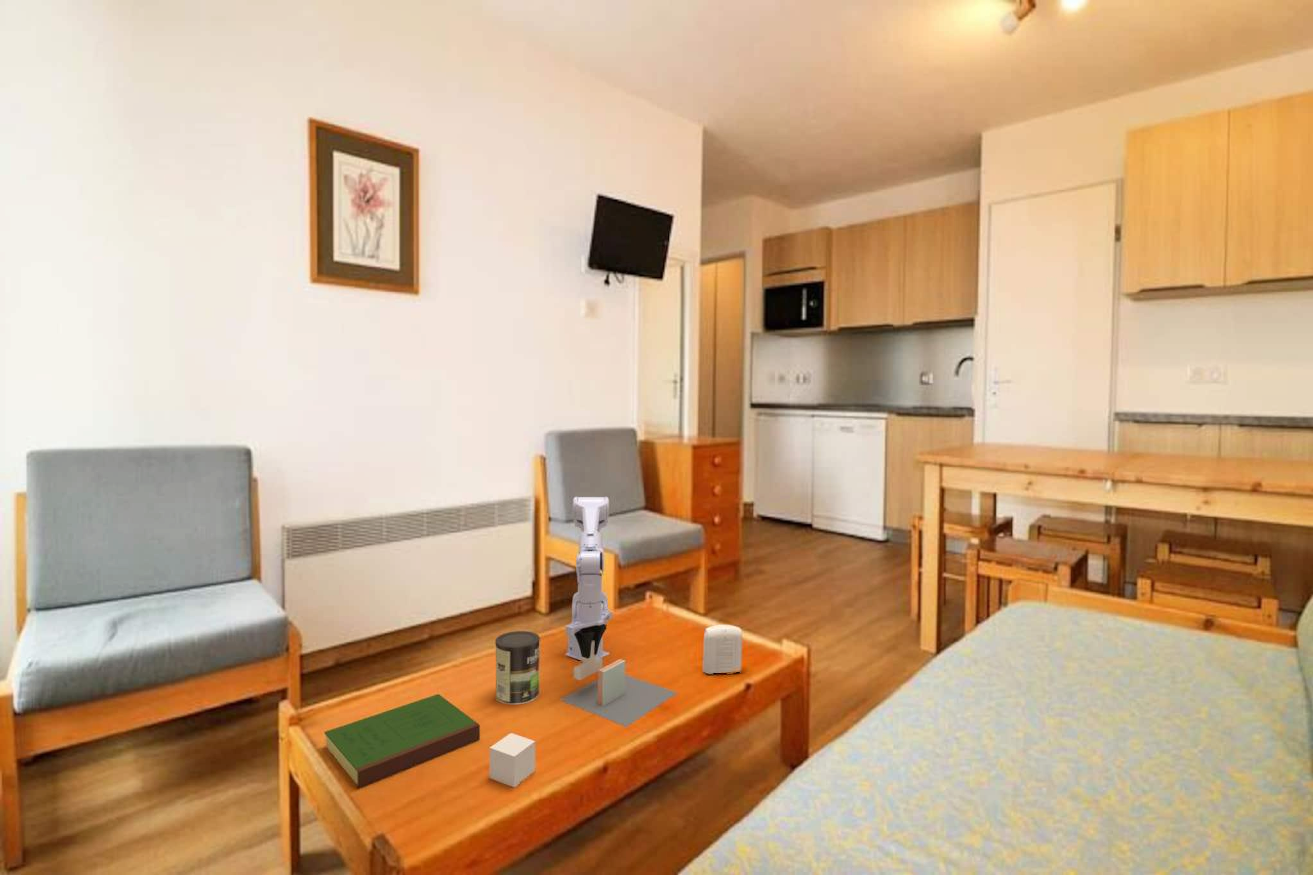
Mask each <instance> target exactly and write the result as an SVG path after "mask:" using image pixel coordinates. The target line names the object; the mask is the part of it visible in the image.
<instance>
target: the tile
mask: <svg viewBox="0 0 1313 875" xmlns="http://www.w3.org/2000/svg"><path fill="white" fill-rule="evenodd" d="M625 675H626V660H624V659H621V658H619V659H617V660H615V661H613V662H612V663H610V664H608V665H605V666H602V668H601V669H599V670H598V671H597V680H598V704H600V705H602V706H604V705H606V704H607V703H609V702H611V701H612V700H614V699H616V698H617V697H619V696H621V695H623V694H624V693H625Z"/></svg>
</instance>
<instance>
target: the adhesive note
mask: <svg viewBox="0 0 1313 875" xmlns="http://www.w3.org/2000/svg"><path fill="white" fill-rule="evenodd" d="M535 771H536V741H535V740H533V739H530V738H527V737H524V736H521V735H519V734H516V733H509V734H507V735H506V736H504V737H503V738H501V739H500V740H499V741H497V742H496V743H494V744H493V745H491V746H490V747H489V779H491V780H494V781H496V782H499V783H501V784H504V785H507V786H510V787H513V788H516V787H518V785H519V784H520V782H521V781H522V782H523V781H524V780H526V779H527V778H528V777H530V776H531V775H530V774H533V773H534V772H535ZM527 776H528V777H527ZM525 778H526V779H525ZM522 782H521V783H522Z"/></svg>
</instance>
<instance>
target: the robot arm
mask: <svg viewBox="0 0 1313 875" xmlns="http://www.w3.org/2000/svg"><path fill="white" fill-rule="evenodd" d="M572 500H573V501H572V518H573V524H574V527H577V528H579V529H580V530H581V533H580V535H579V538H578V553H576V557H575V558H576V559H575V560H576V563H575V565H576V566H575V567H576V568H575V570H576V576H577V577H576V578H577V580H576V581H577V592H575V593H574V594H573V596H572V602H571V603H572V604H571V622H570V623H569V624H567V625H565V634H566V635H567V652H566V653H565V656H567V657H570V658H573V659H575V660H579V661H582V662H583V657H584V658H587V659H588V658H590V654H591V644H592V640H594V641H595V648H594V658H595V657H598V658H601V659H603V658H604V657H606V656H608V655H610V652H609V651H604V650H603V649H604V648H603V647H604V646H603V645H604V644H603V643H604V642H603V641H604V640H603V639H604V634H605V632H606V630H607V622H608V620H612V619H613V615H612V614H613V612H612V610H609V603H608V595H607V593H606V592H604V591H603V575H604V570H605V556H604V555H605V554H604V550H603V541H602V540H603V537H602V535H601V533H600V532H601V529H602V528H606V527H607V526H608V522H609V517H610V499H609V498H608V496H604V497H603V496H600V497H599V496H586V497H585V496H584V497H582V496H575V497H574V498H573V499H572Z"/></svg>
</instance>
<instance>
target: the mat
mask: <svg viewBox="0 0 1313 875" xmlns="http://www.w3.org/2000/svg"><path fill="white" fill-rule="evenodd" d="M677 694H678V691H674V690H671V689H668V688H665V687H663V686H661V685H660V686H659V685H656V684H653V683H651V682H647V681H646V680H643V679H639V678H638V677H637V678H635V677H634V676H631V675H627V674H625V693H624V694H623V695H621V696H619V697H617V698H616V699H614V700H612V701H611V702H609V703H607V704H606V705H604V706H602V705H600V704H598V679H596V680H594V681H593V682H590V683H588V684H586V685H585V686H582V687H580V688H579V689H577V690H575V691H573V692H572V693H570V694H568V695H566V696H564V697H562V698H561V699H559V701H561V702H564V703H566V704H569V705H571V706H574V707H576V708H579V709H581V710H583V711H586V712H589V713H592V714H593V715H596V716H598V717H601V718H603V719H606V720H607V721H608V720H609V721H611V722H613V723H616V724H618V725H621V726H623V727H626V728H627V727H628V726H630V725H632V724H633V723H635V722H636V721H638V720H639V719H641V718H643V717H644V716H645V715H646V714H648V713H650V712H651V711H653V710H655V709H656V708H657V707H659V706H661V705H662V704H664V703H665V702H666V701H668V700H669V699H670V698H672V697H674V696H675V695H677Z"/></svg>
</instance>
